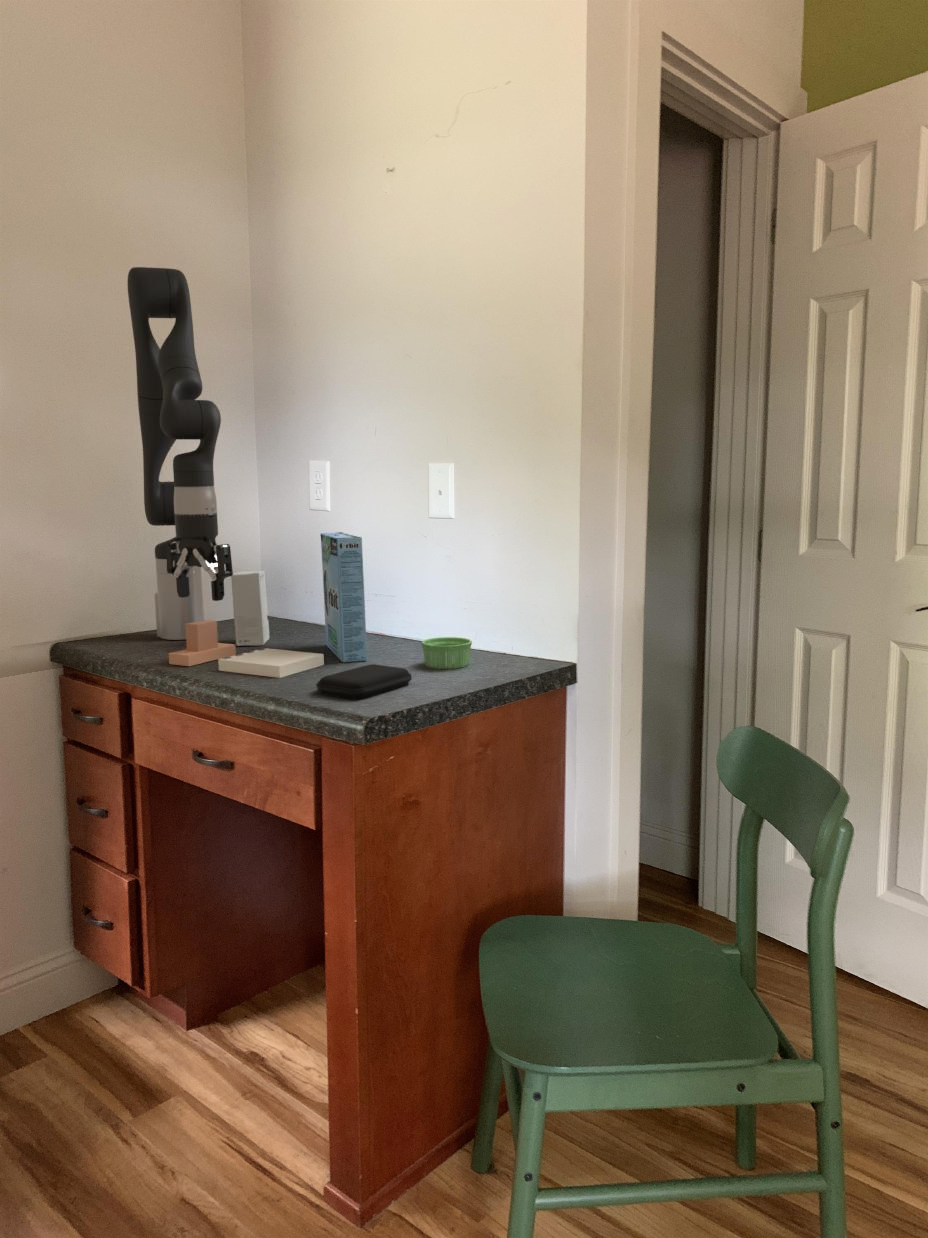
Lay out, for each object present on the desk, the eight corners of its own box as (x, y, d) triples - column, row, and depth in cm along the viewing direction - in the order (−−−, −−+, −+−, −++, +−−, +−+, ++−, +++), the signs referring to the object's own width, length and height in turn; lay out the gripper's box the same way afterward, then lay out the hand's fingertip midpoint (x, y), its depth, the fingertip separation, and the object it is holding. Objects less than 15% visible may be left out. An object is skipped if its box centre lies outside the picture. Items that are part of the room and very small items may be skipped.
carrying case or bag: (367, 678, 154) (306, 695, 142) (366, 660, 154) (305, 676, 142) (416, 685, 148) (357, 704, 136) (416, 667, 148) (357, 684, 136)
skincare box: (264, 646, 184) (260, 573, 182) (234, 646, 183) (230, 573, 181) (269, 639, 192) (266, 569, 190) (241, 639, 192) (237, 569, 189)
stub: (169, 663, 166) (166, 626, 165) (216, 652, 177) (214, 617, 176) (189, 666, 164) (186, 628, 163) (235, 654, 174) (233, 618, 173)
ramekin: (480, 662, 165) (480, 639, 164) (456, 672, 157) (456, 647, 156) (438, 658, 169) (438, 635, 168) (412, 667, 161) (412, 643, 160)
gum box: (367, 661, 167) (363, 536, 163) (340, 663, 165) (335, 537, 162) (348, 643, 185) (345, 531, 182) (324, 645, 184) (319, 532, 180)
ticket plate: (218, 670, 160) (218, 658, 160) (264, 658, 171) (264, 647, 170) (279, 677, 154) (279, 665, 153) (323, 664, 164) (323, 653, 164)
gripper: (152, 511, 166) (158, 598, 169) (209, 513, 159) (214, 604, 162) (182, 509, 173) (188, 593, 176) (239, 511, 166) (243, 598, 169)
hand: (200, 598), depth 169 cm, fingers open, 8 cm apart
